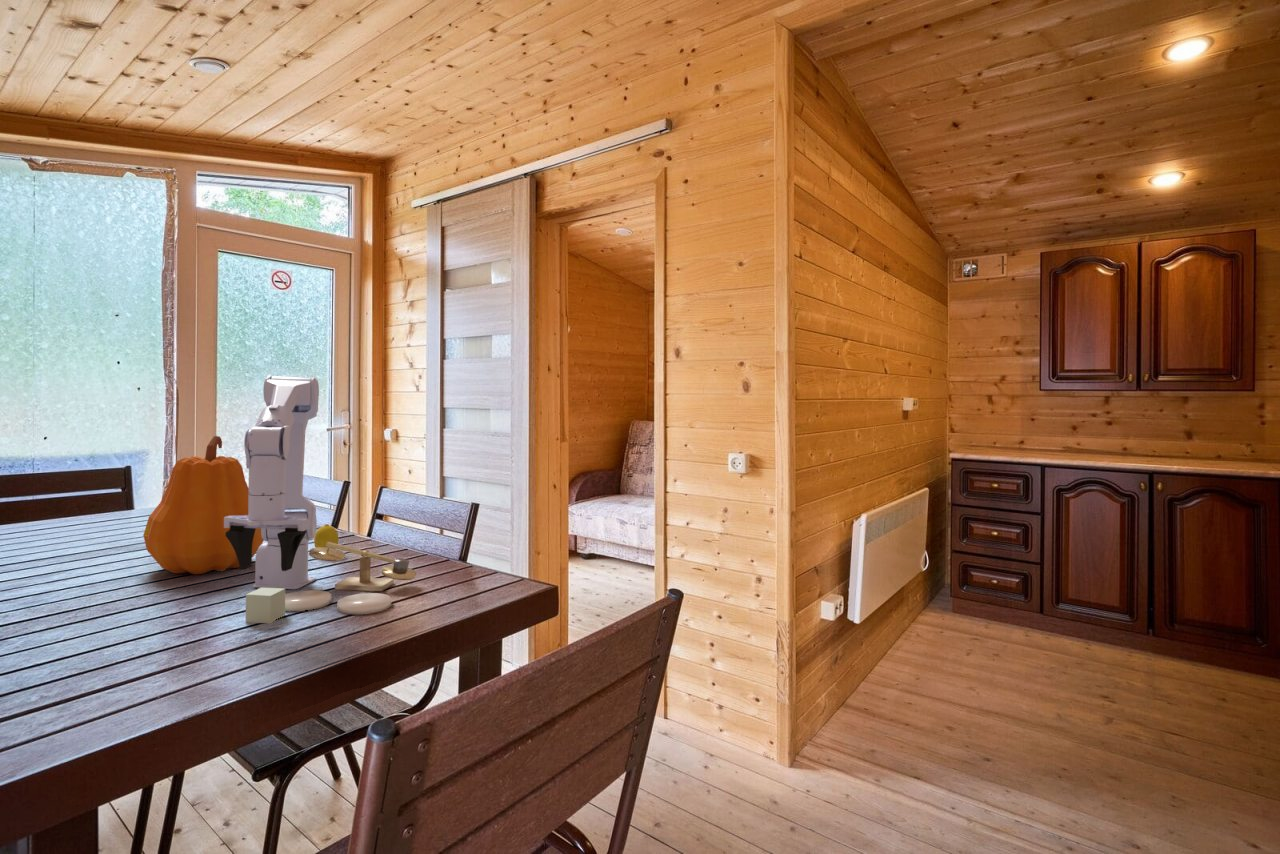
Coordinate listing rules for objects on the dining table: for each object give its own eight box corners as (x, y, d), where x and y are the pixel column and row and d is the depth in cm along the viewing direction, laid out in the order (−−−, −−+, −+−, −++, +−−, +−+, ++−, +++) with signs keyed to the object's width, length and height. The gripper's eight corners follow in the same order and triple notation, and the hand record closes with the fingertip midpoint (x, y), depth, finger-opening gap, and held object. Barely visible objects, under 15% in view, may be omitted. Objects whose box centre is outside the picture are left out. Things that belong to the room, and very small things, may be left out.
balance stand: (334, 589, 138) (335, 559, 138) (348, 581, 144) (349, 553, 144) (381, 591, 138) (382, 561, 138) (393, 583, 144) (394, 555, 144)
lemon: (328, 559, 163) (329, 526, 162) (309, 557, 164) (309, 525, 164) (343, 554, 168) (343, 522, 168) (323, 552, 169) (324, 521, 169)
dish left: (264, 610, 124) (264, 603, 124) (293, 595, 133) (293, 589, 133) (314, 612, 123) (315, 606, 123) (340, 597, 133) (340, 591, 133)
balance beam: (302, 555, 138) (305, 541, 138) (319, 547, 145) (322, 534, 145) (408, 582, 137) (411, 568, 137) (420, 573, 144) (423, 560, 144)
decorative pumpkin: (168, 556, 160) (168, 432, 159) (277, 553, 166) (278, 434, 165) (122, 583, 137) (122, 439, 136) (250, 578, 144) (251, 441, 143)
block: (245, 622, 117) (245, 594, 117) (261, 614, 122) (261, 587, 122) (270, 623, 117) (270, 595, 117) (285, 615, 122) (285, 588, 122)
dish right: (327, 613, 123) (327, 606, 123) (352, 597, 133) (352, 592, 133) (378, 615, 123) (378, 609, 123) (399, 600, 133) (399, 594, 133)
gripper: (212, 495, 115) (211, 572, 115) (293, 498, 114) (292, 576, 115) (238, 489, 122) (237, 562, 123) (315, 492, 121) (314, 566, 122)
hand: (266, 568), depth 119 cm, fingers open, 7 cm apart
